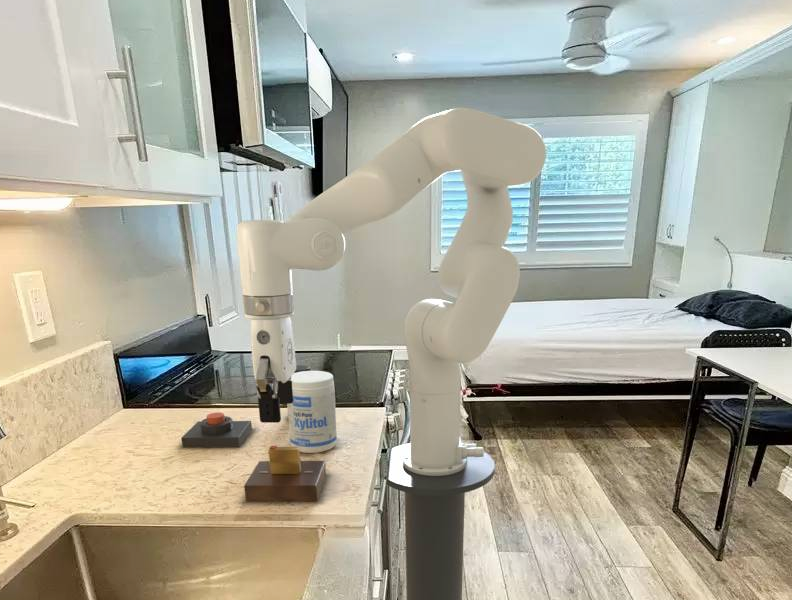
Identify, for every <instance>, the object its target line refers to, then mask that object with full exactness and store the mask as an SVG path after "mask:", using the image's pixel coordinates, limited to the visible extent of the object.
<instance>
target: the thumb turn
mask: <svg viewBox="0 0 792 600" xmlns="http://www.w3.org/2000/svg"><path fill="white" fill-rule="evenodd" d="M267 450H268V461H270V469H271V474H300V472H301V462H300V461H301V454H300V453H301V452H299V447H292V446H277V445H270V447H269V448H268V449H267Z"/></svg>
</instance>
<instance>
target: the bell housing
mask: <svg viewBox="0 0 792 600" xmlns="http://www.w3.org/2000/svg"><path fill="white" fill-rule="evenodd" d="M224 417H225V422H224V423H221V424H215V425H210V424H208V423H207V417H206V418H204V419H202V420H201V421H197V422H196V423H194V425H193V426H192V427H190V428H189V430H188V431H186V432H185V433H184V434H183V435H182V436H181V438H180V440H181V447H182V448H185V449H186V448H190V449H192V448H241V446H242V445H243V443H244V442H245V440H246V439H247V438H248V437H249V435H250V434H251V433H252V431H253V425H252V424H253V423H252V420H233V418H232V417H231V416H226V415H224Z"/></svg>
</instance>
